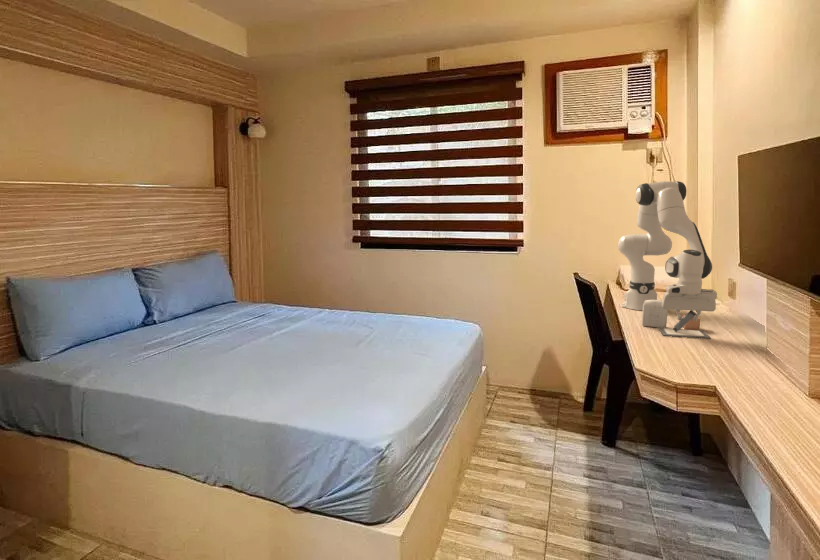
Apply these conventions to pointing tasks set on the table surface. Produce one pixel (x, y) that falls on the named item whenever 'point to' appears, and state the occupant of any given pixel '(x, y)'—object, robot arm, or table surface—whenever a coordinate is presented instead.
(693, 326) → the pen holder
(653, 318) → the photo printer
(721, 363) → the table surface
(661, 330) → the writing board
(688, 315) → the marker
